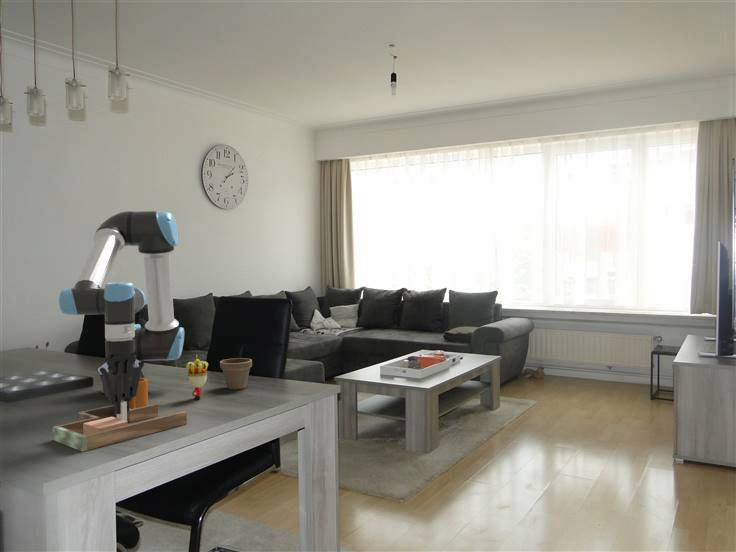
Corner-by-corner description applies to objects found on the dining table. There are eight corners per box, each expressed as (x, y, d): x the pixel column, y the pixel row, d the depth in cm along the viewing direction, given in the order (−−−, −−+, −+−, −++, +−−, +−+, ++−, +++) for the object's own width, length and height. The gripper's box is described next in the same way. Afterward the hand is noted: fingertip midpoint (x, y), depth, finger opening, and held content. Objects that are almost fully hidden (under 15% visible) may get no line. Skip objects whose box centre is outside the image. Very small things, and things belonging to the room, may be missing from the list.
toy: (189, 396, 203) (188, 353, 203) (210, 396, 204) (210, 352, 204) (184, 401, 196) (183, 356, 196) (206, 401, 197) (206, 356, 196)
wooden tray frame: (37, 433, 161) (36, 420, 161) (139, 410, 185) (138, 399, 185) (82, 451, 146) (82, 437, 146) (186, 424, 170) (186, 411, 170)
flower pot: (213, 389, 214) (213, 361, 214) (232, 383, 224) (231, 356, 224) (240, 392, 210) (240, 364, 209) (258, 385, 220) (258, 358, 220)
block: (83, 438, 158) (83, 423, 158) (112, 430, 164) (111, 416, 164) (99, 443, 153) (98, 428, 153) (127, 436, 159) (127, 421, 159)
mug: (111, 415, 180) (110, 385, 180) (122, 406, 192) (121, 378, 192) (142, 413, 181) (141, 384, 181) (151, 404, 193) (150, 376, 193)
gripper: (104, 343, 154) (106, 433, 155) (149, 337, 165) (151, 421, 165) (89, 340, 159) (91, 428, 160) (134, 335, 169) (136, 417, 170)
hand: (121, 424), depth 163 cm, fingers closed
